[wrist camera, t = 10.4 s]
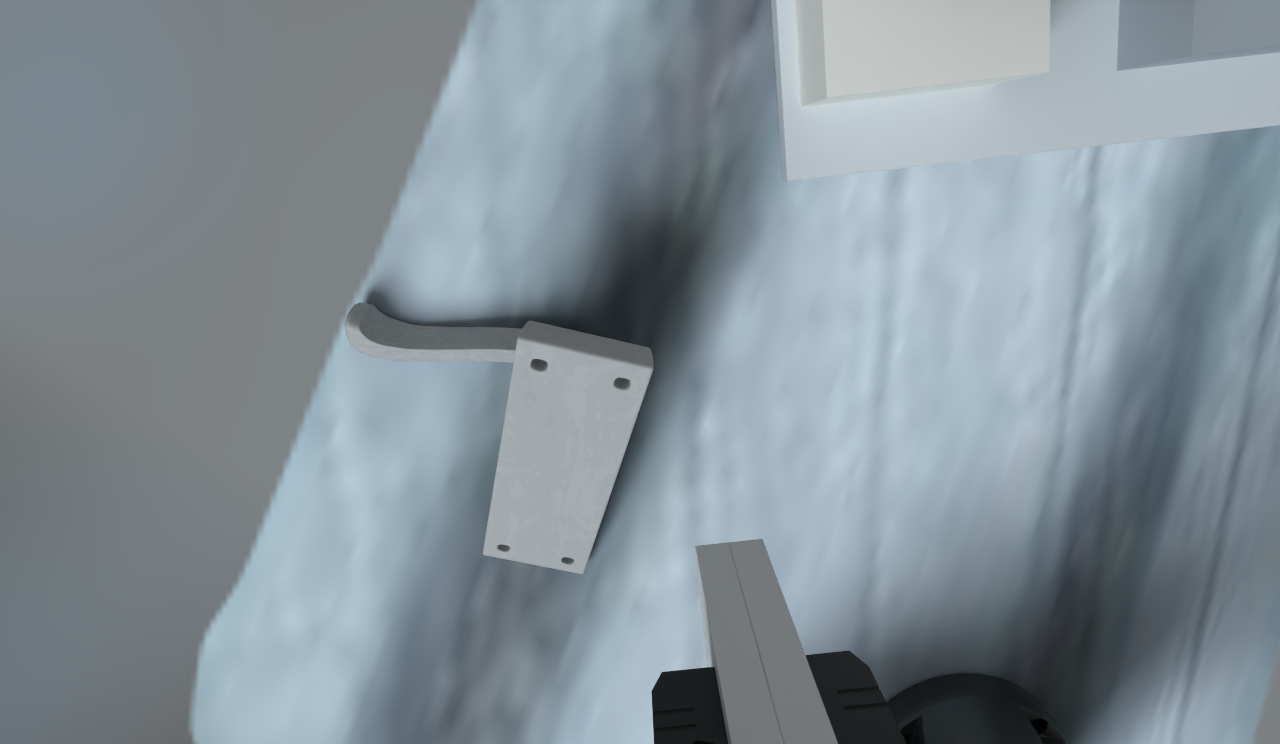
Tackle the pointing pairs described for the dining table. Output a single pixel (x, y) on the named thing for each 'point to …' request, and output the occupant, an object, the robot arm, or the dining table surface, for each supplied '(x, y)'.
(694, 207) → the dining table surface
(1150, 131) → the white stepped platform
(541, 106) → the dining table surface
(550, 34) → the dining table surface
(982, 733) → the robot arm
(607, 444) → the door handle
